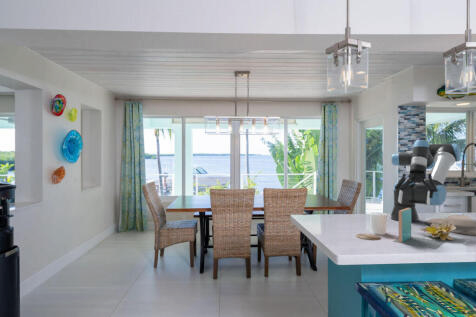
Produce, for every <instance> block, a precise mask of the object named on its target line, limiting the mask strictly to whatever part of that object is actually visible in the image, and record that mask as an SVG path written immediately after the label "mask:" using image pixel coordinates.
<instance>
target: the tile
mask: <svg viewBox="0 0 476 317" xmlns="http://www.w3.org/2000/svg"><path fill="white" fill-rule="evenodd" d="M411 236H412V222H411V208H406V209H403V210H400V211H399V221H398V238H399V242H401V243H400V244H403V243H402V242H404V241H406V240H408V239H410V238H411Z"/></svg>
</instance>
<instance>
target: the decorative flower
mask: <svg viewBox="0 0 476 317" xmlns="http://www.w3.org/2000/svg"><path fill="white" fill-rule="evenodd" d="M456 229H457V227H456V226H455V223H454V221H452V220H451V221H449V220H444V221H443V222H441V224H440V223H436V222H435V223H431V224H430V226H425V227H423V228H422V227H421V228H419V230H421V231H422V232H424V233H426V234H429V235H431V236H432V238H439V239H440V241H441V240H442V241H446V239H447V240H450V241H453V240H454V238H452V237H451V236H450V235H449V234H450V233H451V232H453V231H455V230H456Z"/></svg>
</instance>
